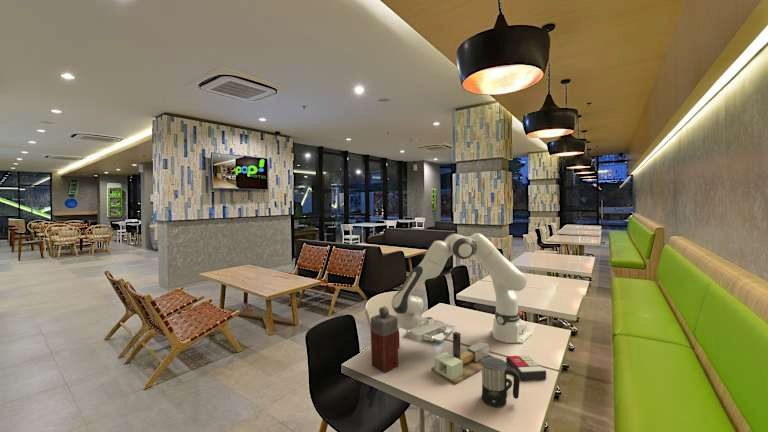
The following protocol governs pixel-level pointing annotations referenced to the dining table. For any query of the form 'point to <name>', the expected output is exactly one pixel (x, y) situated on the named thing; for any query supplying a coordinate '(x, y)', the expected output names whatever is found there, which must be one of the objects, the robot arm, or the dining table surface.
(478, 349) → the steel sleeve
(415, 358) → the dining table surface
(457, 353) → the dark tall piece
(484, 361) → the milk frother
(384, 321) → the red lidded canister
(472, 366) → the walnut board
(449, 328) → the salad plate
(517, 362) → the calculator
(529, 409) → the dining table surface
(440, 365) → the socket block
